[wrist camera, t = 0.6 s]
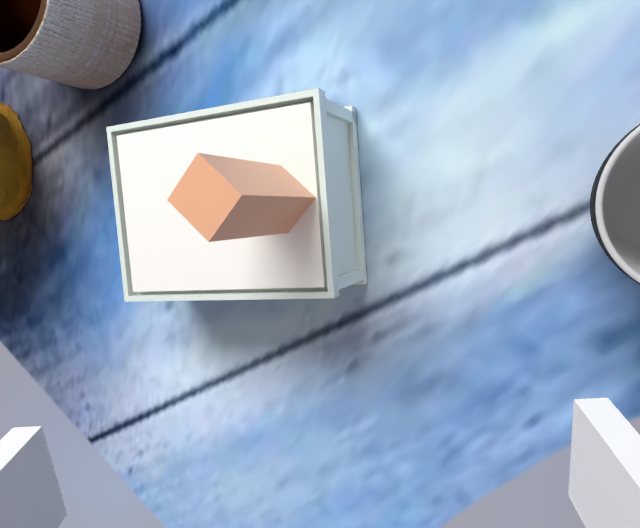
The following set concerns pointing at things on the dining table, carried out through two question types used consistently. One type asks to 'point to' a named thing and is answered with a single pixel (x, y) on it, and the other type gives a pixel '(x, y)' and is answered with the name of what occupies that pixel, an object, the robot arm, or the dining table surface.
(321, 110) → the tub
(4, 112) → the pitcher
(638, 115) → the dining table surface
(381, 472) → the dining table surface
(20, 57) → the planter
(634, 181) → the mug
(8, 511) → the robot arm
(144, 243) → the lid
